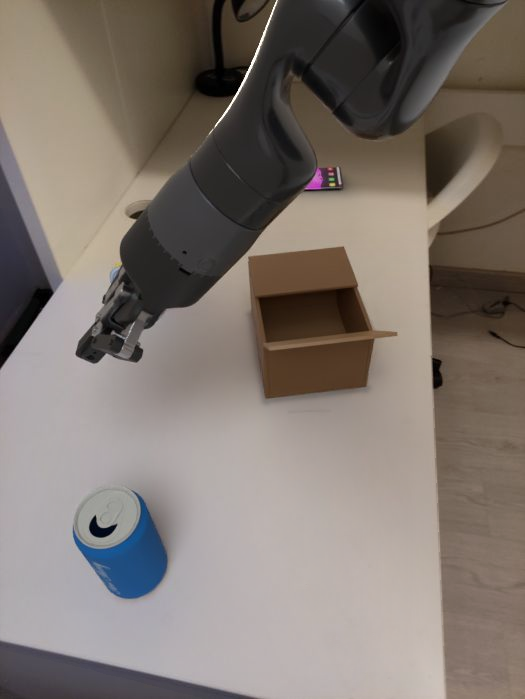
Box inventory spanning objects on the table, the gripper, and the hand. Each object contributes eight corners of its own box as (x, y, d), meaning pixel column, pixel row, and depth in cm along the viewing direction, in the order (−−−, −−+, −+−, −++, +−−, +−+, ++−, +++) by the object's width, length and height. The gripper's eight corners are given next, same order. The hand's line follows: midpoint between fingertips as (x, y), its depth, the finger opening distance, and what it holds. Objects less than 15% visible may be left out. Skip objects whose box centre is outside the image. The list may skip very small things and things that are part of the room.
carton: (366, 386, 69) (376, 330, 61) (265, 399, 68) (262, 343, 60) (338, 302, 79) (344, 245, 72) (251, 312, 79) (247, 256, 71)
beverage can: (91, 586, 53) (52, 536, 44) (125, 527, 57) (95, 471, 48) (148, 611, 51) (119, 565, 42) (179, 549, 55) (159, 494, 46)
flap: (375, 330, 61) (375, 333, 61) (263, 343, 60) (263, 346, 60) (397, 331, 53) (397, 335, 53) (268, 346, 52) (269, 351, 52)
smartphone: (342, 190, 99) (343, 186, 99) (262, 192, 100) (261, 188, 99) (340, 170, 104) (340, 166, 103) (262, 172, 105) (262, 167, 104)
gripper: (159, 158, 42) (63, 287, 52) (138, 265, 34) (27, 397, 43) (234, 209, 46) (131, 321, 56) (233, 318, 37) (111, 428, 47)
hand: (86, 354), depth 49 cm, fingers closed
